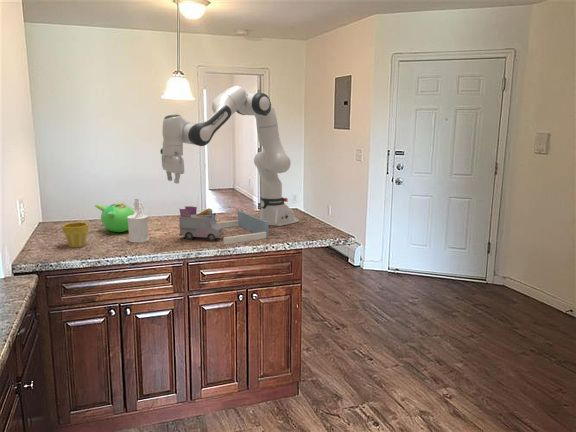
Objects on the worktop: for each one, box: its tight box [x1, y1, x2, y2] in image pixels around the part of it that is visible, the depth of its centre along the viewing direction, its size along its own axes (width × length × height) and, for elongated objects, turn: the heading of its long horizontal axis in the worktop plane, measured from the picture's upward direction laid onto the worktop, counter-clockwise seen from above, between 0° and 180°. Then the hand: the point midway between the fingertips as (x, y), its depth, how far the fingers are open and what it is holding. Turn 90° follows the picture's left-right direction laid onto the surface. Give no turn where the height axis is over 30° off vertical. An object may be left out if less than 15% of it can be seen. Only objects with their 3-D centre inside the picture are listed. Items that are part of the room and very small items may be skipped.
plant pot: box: [62, 221, 89, 249], centre depth 212 cm, size 10×10×10 cm
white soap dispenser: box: [127, 197, 150, 244], centre depth 221 cm, size 10×9×20 cm
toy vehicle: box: [178, 205, 225, 242], centre depth 226 cm, size 9×20×15 cm, turn 78°
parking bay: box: [216, 210, 269, 246], centre depth 236 cm, size 23×30×8 cm
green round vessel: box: [94, 201, 135, 233], centre depth 237 cm, size 18×17×15 cm
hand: (173, 181), depth 216 cm, fingers open, 8 cm apart
